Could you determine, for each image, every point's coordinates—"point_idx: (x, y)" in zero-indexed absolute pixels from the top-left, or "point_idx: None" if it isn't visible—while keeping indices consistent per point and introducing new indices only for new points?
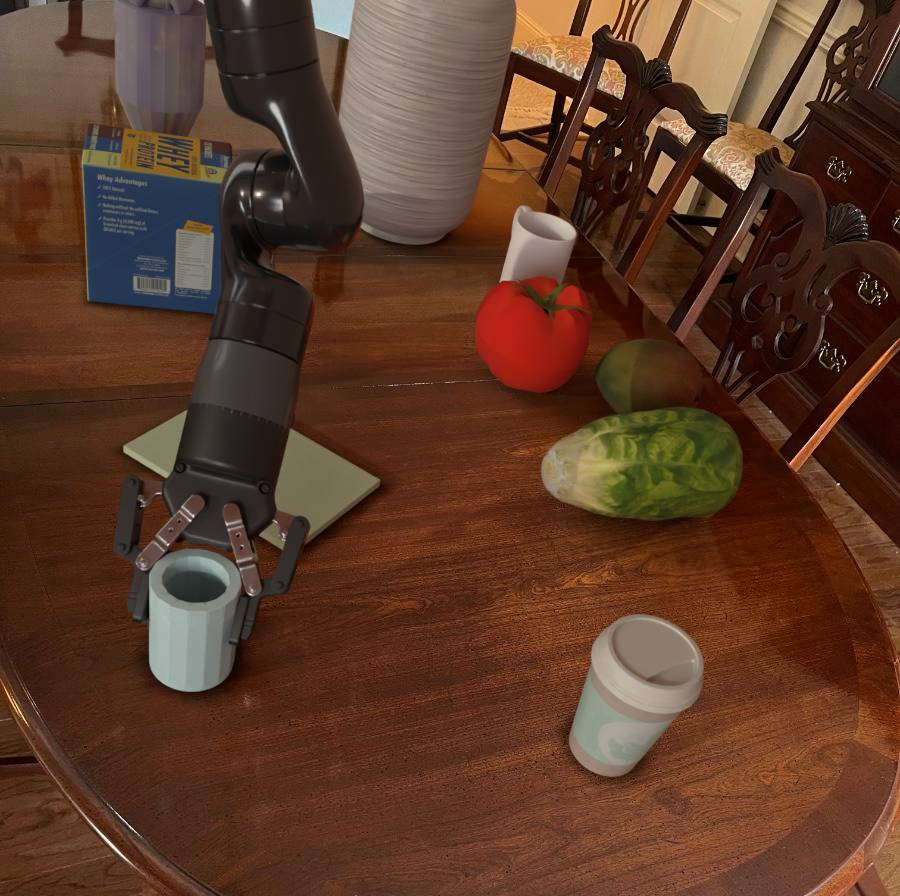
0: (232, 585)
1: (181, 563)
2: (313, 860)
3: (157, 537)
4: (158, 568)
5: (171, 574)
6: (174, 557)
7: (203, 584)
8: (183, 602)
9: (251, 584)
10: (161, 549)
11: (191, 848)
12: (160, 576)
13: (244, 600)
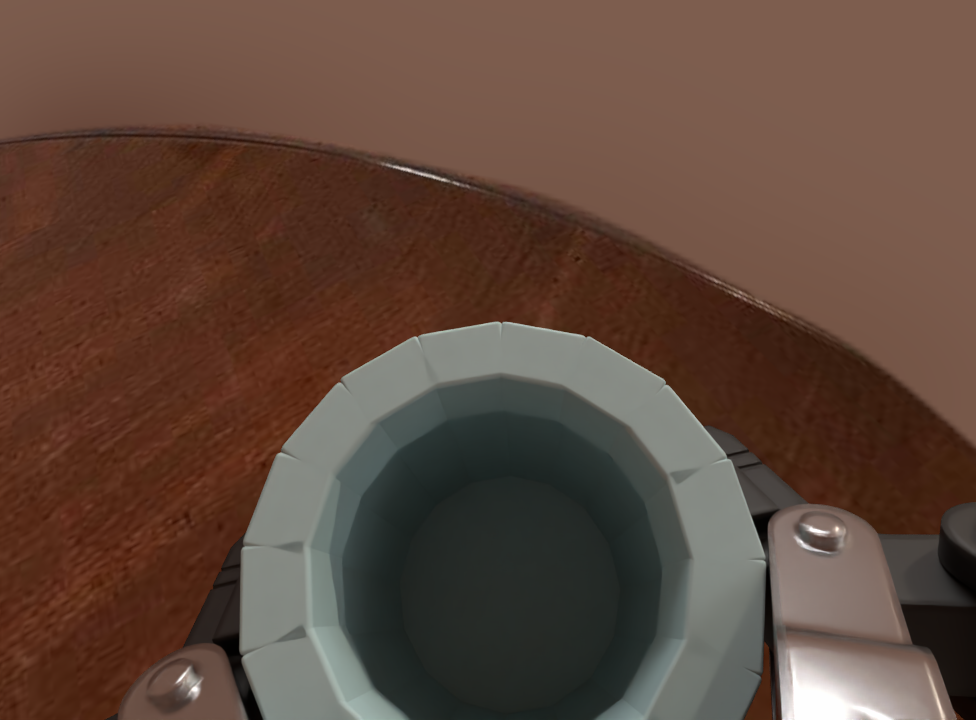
0: (288, 623)
1: (654, 669)
2: (76, 245)
3: (901, 644)
4: (717, 514)
5: (664, 603)
6: (706, 658)
7: None
8: (467, 368)
9: (180, 695)
10: (805, 627)
11: (294, 180)
12: (667, 464)
13: (238, 616)
